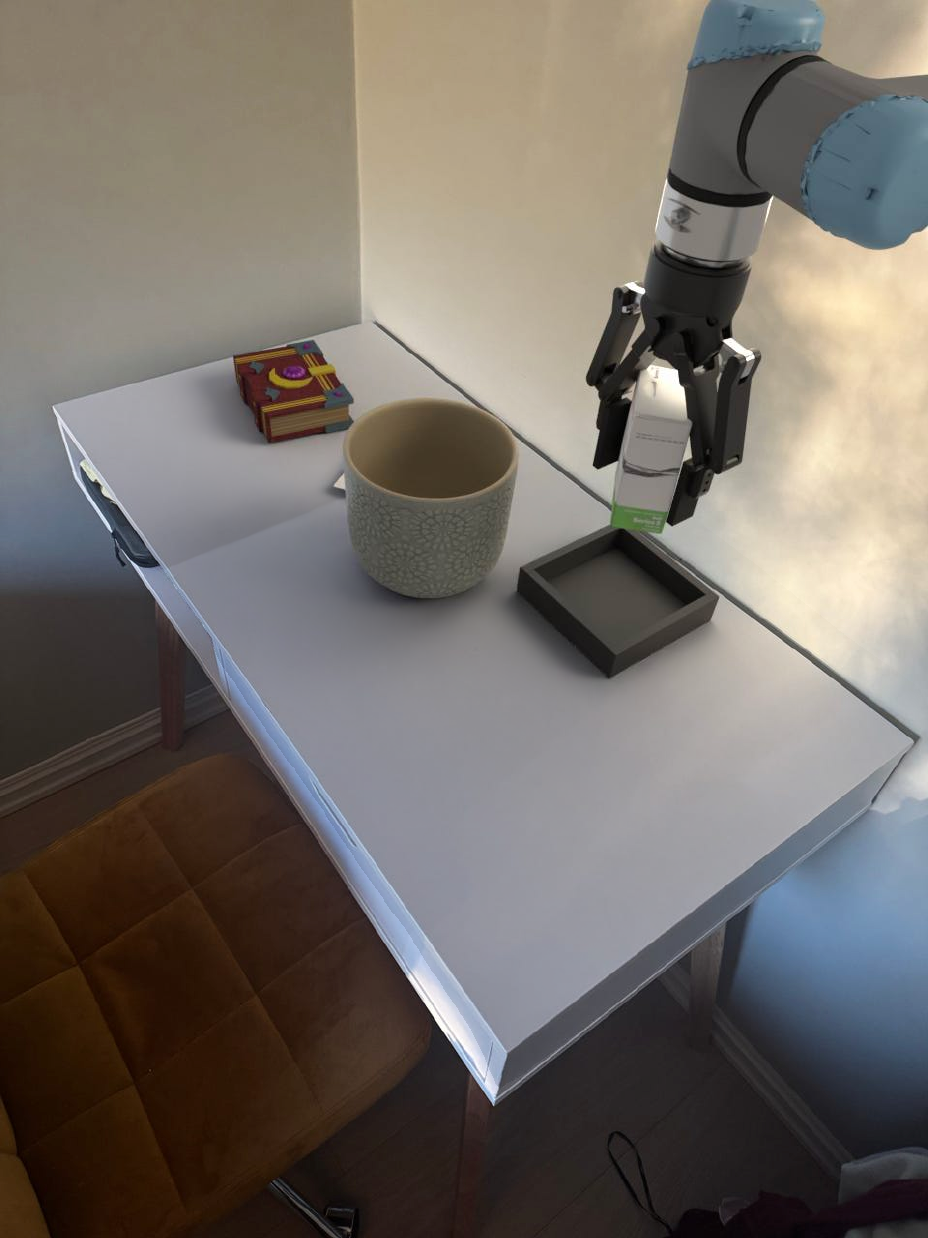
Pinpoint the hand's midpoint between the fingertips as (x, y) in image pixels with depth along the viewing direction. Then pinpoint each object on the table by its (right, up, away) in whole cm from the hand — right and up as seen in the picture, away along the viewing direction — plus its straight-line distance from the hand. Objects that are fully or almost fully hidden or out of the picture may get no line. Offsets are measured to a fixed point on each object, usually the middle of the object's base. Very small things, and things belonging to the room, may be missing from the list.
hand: (641, 490), depth 83 cm
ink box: (0, -1, +1) cm, 2 cm away
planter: (-20, -6, +15) cm, 26 cm away
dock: (-1, -10, +12) cm, 16 cm away
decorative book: (-39, +16, +35) cm, 54 cm away
